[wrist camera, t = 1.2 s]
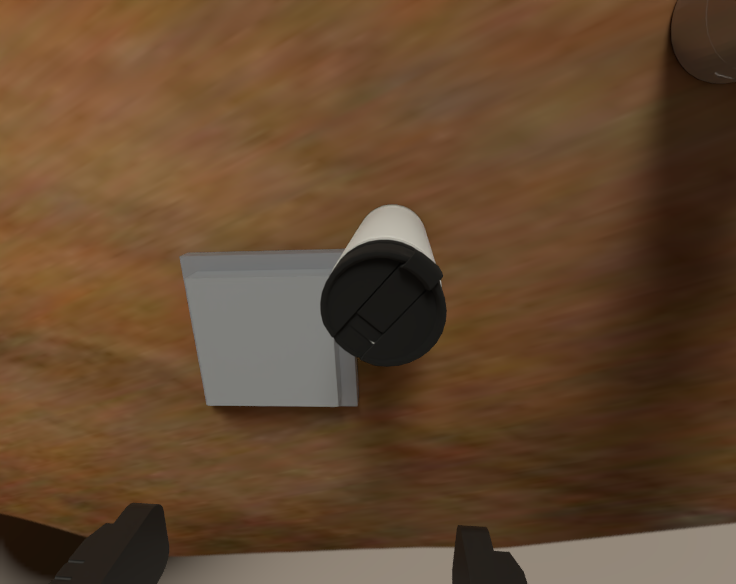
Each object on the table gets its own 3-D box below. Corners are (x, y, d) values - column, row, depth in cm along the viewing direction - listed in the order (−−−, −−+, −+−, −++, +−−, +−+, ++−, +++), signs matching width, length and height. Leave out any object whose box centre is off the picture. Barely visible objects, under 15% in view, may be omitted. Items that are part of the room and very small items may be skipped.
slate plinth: (187, 252, 41) (165, 262, 37) (350, 248, 39) (345, 258, 35) (213, 396, 45) (196, 418, 42) (359, 397, 44) (354, 420, 40)
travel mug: (442, 232, 38) (482, 306, 19) (395, 284, 40) (388, 399, 21) (390, 186, 37) (377, 217, 18) (344, 242, 39) (289, 322, 20)
